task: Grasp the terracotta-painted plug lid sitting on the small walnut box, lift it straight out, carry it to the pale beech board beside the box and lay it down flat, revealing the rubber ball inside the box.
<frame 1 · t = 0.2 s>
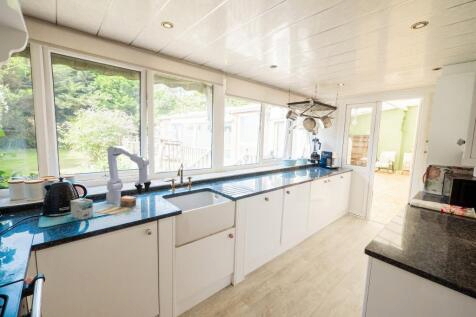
hand: (143, 192, 149), 10 cm above the countertop, fingers open, 7 cm apart
light bulb box: (82, 217, 126), on the countertop
board: (115, 210, 137), on the countertop
ball: (128, 205, 148), resting on box
box: (128, 206, 148), on the countertop
lid: (128, 201, 148), point 4 cm above the countertop, touching box
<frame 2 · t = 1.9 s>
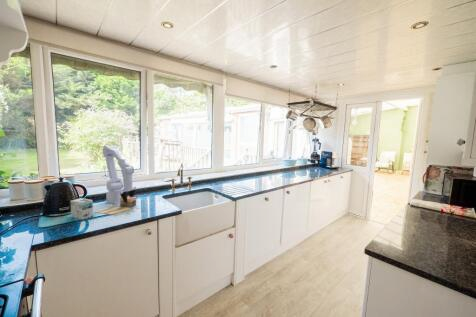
hand: (128, 200, 148), 4 cm above the countertop, fingers closed on lid, 5 cm apart
lid: (128, 201, 148), point 4 cm above the countertop, touching box, gripper
everything else where it was.
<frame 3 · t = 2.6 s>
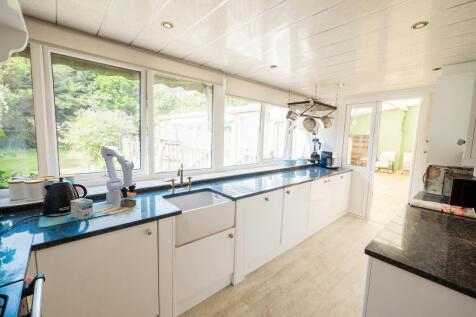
hand: (128, 196, 147), 7 cm above the countertop, fingers closed on lid, 5 cm apart
lid: (128, 196, 147), point 7 cm above the countertop, touching gripper
everything else where it was.
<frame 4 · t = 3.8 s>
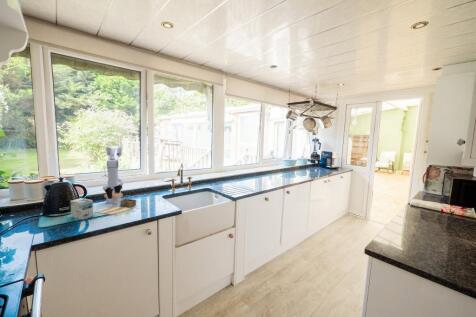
hand: (113, 197, 136), 10 cm above the countertop, fingers closed on lid, 5 cm apart
lid: (113, 198, 136), point 9 cm above the countertop, touching gripper
everything else where it was.
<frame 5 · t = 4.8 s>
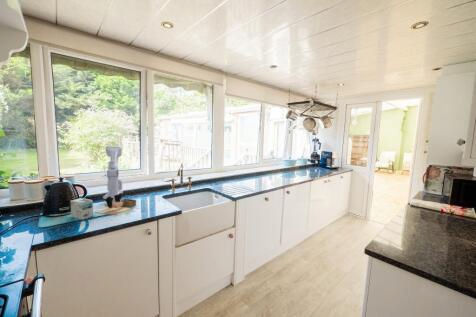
hand: (113, 206, 136), 4 cm above the countertop, fingers closed on lid, 5 cm apart
lid: (114, 206, 136), point 3 cm above the countertop, touching gripper
everything else where it was.
when the fingers open (2 cm above the countertop, at t = 5.7 s): lid drops 1 cm, resting on board.
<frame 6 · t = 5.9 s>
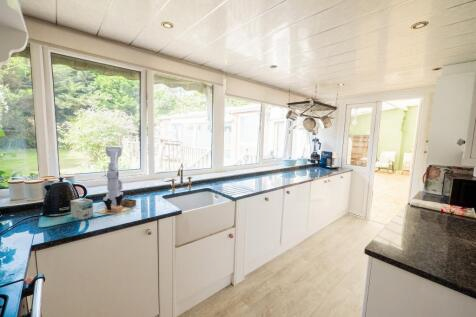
hand: (113, 208, 136), 2 cm above the countertop, fingers open, 7 cm apart
lid: (114, 210, 136), point 1 cm above the countertop, touching board
everything else where it was.
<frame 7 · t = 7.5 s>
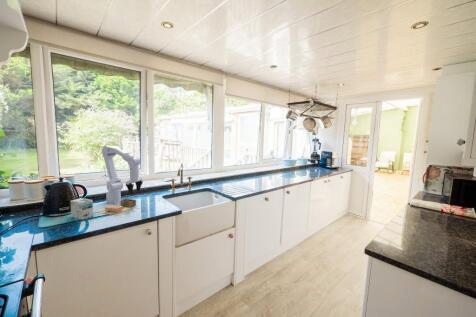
hand: (134, 192, 148), 10 cm above the countertop, fingers open, 7 cm apart
nothing on the countertop moved.
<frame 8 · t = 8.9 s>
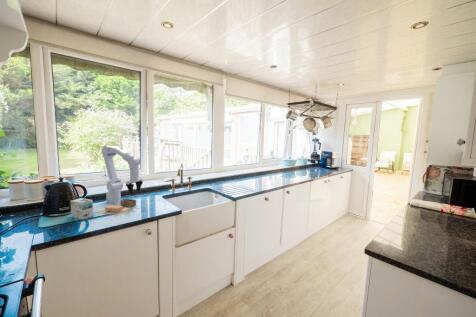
hand: (134, 192, 148), 10 cm above the countertop, fingers open, 7 cm apart
nothing on the countertop moved.
at the end: lid inside the target area on the board (1.1 cm from its centre), point 0.6 cm above the board's base; lid tilted 0°; the gripper is holding nothing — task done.
